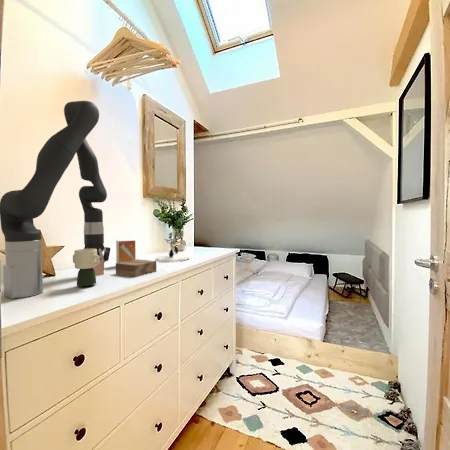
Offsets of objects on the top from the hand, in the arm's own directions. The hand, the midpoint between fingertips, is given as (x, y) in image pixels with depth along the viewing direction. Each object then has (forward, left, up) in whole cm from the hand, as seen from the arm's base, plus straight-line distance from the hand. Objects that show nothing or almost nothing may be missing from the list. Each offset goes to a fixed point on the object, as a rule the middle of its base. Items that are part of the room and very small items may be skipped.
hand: (94, 272), depth 112 cm
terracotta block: (0, 0, -1) cm, 1 cm away
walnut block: (+12, -12, -1) cm, 17 cm away
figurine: (+47, 0, -1) cm, 47 cm away
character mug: (-12, -15, -1) cm, 19 cm away
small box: (+20, +6, -1) cm, 21 cm away
